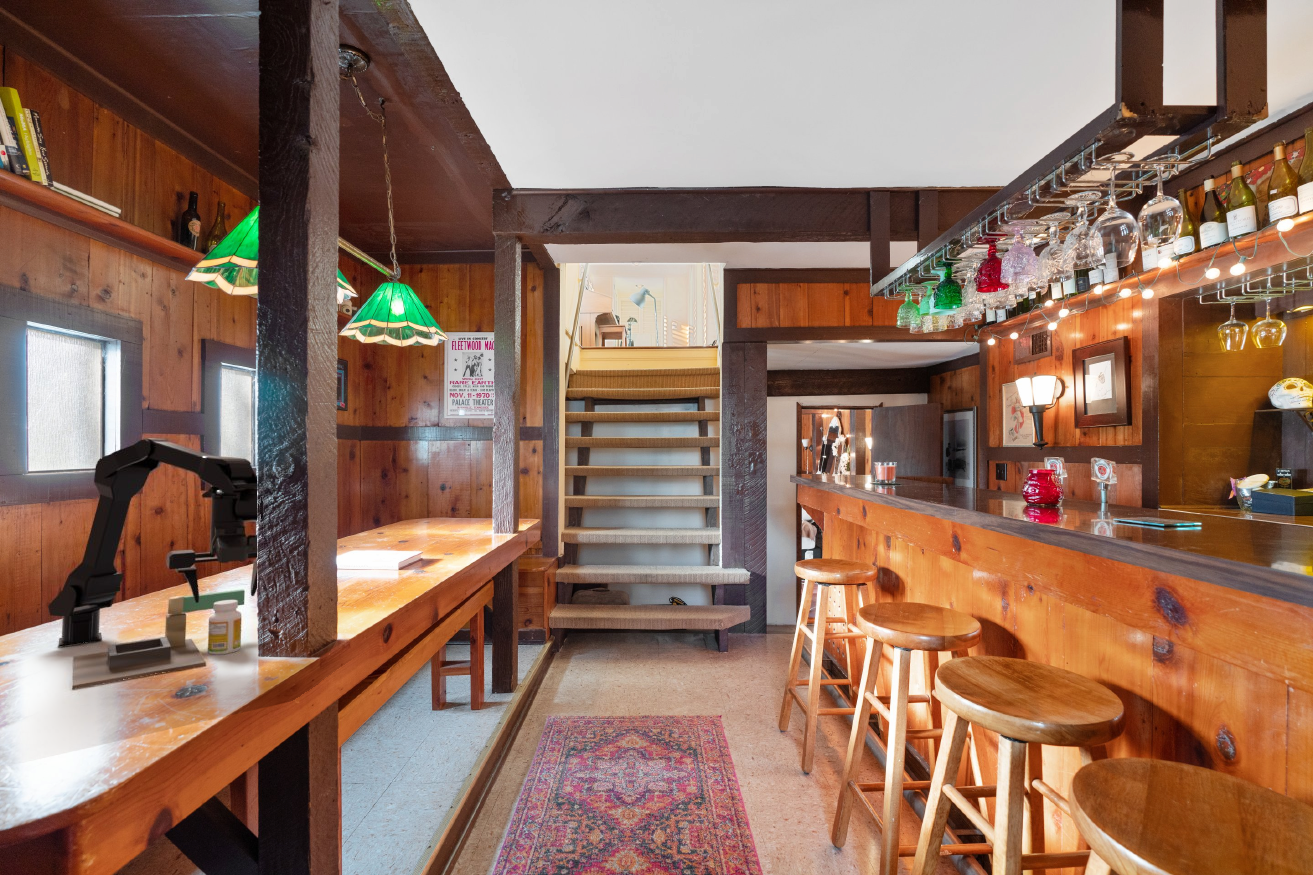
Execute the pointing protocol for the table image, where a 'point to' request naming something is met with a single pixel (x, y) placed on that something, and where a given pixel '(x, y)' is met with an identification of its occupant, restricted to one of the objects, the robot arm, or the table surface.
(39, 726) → the table surface
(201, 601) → the keeper arm
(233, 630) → the supplement bottle
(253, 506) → the robot arm
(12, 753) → the table surface
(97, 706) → the table surface
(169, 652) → the bottle stand
